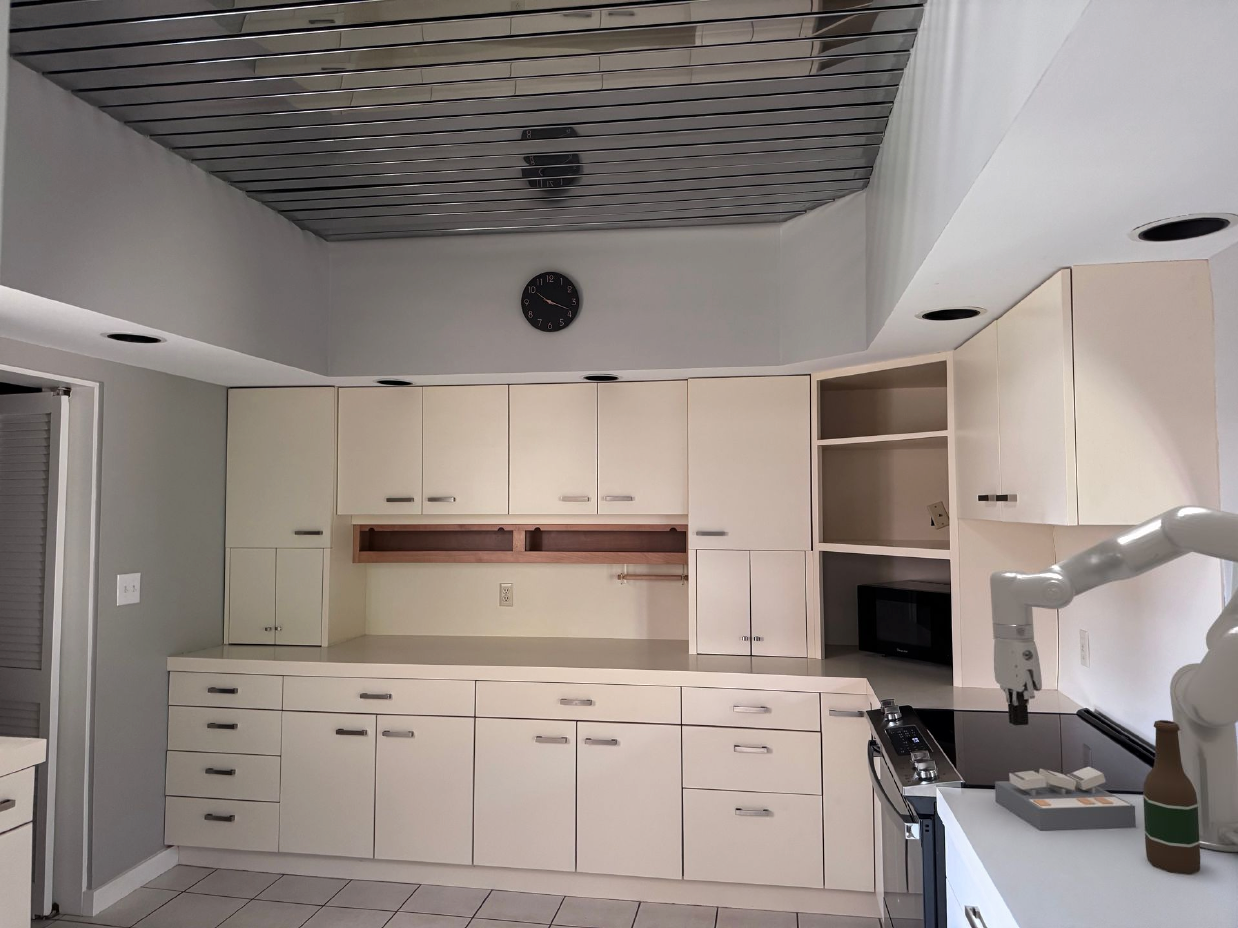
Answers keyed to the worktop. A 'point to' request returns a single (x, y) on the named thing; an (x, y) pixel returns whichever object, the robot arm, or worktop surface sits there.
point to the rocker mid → (1058, 779)
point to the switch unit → (1066, 807)
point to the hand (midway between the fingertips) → (1018, 723)
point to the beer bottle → (1170, 807)
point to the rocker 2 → (1087, 778)
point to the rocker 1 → (1027, 780)
